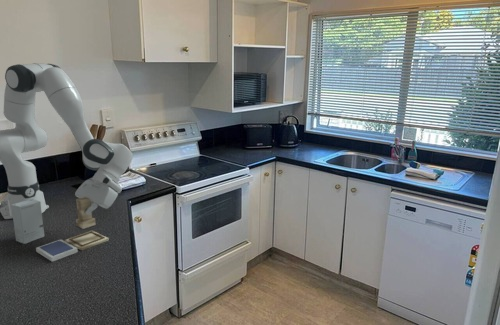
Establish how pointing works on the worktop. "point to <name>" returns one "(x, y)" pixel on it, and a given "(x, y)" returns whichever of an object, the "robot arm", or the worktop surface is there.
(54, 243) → the ink pad
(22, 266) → the worktop surface
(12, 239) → the worktop surface
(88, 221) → the stamp
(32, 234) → the skincare box
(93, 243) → the box board
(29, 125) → the robot arm
